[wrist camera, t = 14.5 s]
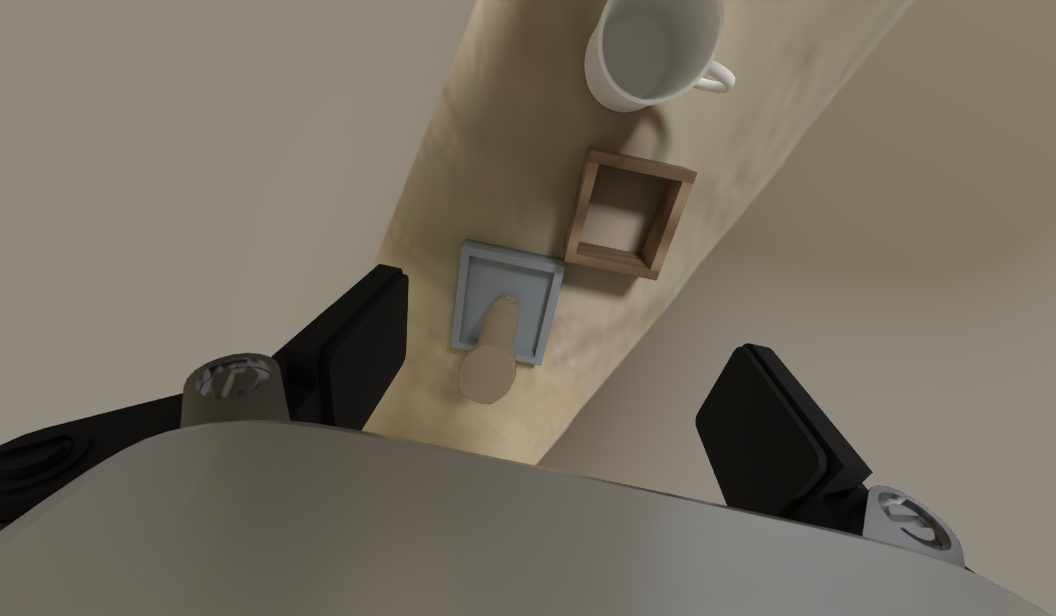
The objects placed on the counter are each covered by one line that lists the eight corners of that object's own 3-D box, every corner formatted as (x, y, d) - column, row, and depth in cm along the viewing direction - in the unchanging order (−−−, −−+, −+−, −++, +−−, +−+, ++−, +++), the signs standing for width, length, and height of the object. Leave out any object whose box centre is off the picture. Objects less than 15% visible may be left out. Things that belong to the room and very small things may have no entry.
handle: (534, 290, 45) (525, 359, 32) (513, 330, 48) (497, 410, 35) (498, 274, 45) (473, 337, 31) (479, 316, 48) (449, 391, 34)
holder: (588, 147, 39) (591, 150, 34) (681, 166, 39) (697, 172, 34) (563, 246, 44) (564, 261, 39) (646, 264, 44) (656, 280, 39)
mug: (725, 54, 34) (800, 23, 24) (669, 144, 38) (711, 153, 27) (615, -17, 33) (641, -83, 22) (568, 85, 36) (570, 70, 26)
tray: (466, 239, 44) (461, 245, 42) (565, 259, 44) (565, 267, 42) (455, 337, 51) (450, 347, 48) (541, 354, 51) (540, 365, 48)
